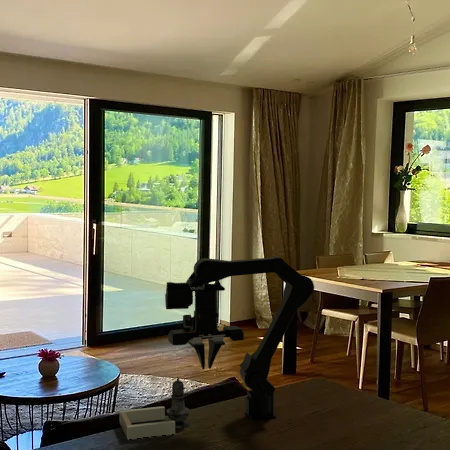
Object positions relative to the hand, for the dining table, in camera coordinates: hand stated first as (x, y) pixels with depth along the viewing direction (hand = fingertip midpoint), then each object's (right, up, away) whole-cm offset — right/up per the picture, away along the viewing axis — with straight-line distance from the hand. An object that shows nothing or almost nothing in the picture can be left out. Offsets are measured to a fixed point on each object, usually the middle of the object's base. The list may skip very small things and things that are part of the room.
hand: (206, 368), depth 168 cm
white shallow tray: (-15, -13, -6) cm, 21 cm away
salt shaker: (-7, -13, -4) cm, 16 cm away
